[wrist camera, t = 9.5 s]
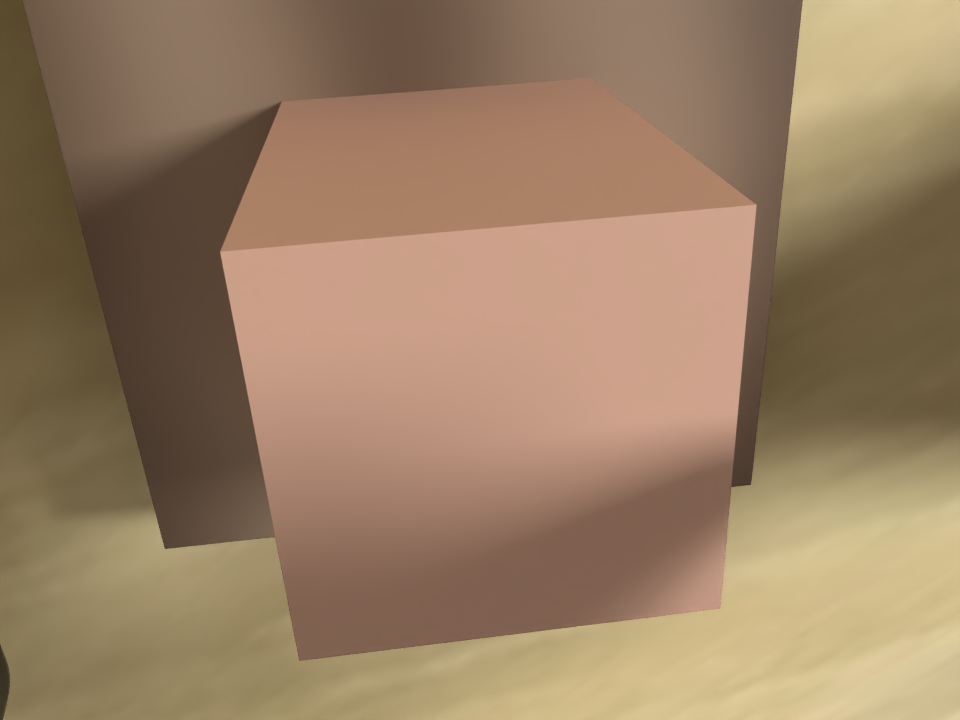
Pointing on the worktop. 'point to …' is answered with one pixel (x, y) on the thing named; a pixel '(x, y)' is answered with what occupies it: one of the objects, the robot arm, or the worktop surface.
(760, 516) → the worktop surface
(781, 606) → the worktop surface
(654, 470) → the terracotta block
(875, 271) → the worktop surface
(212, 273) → the walnut base
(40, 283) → the worktop surface
